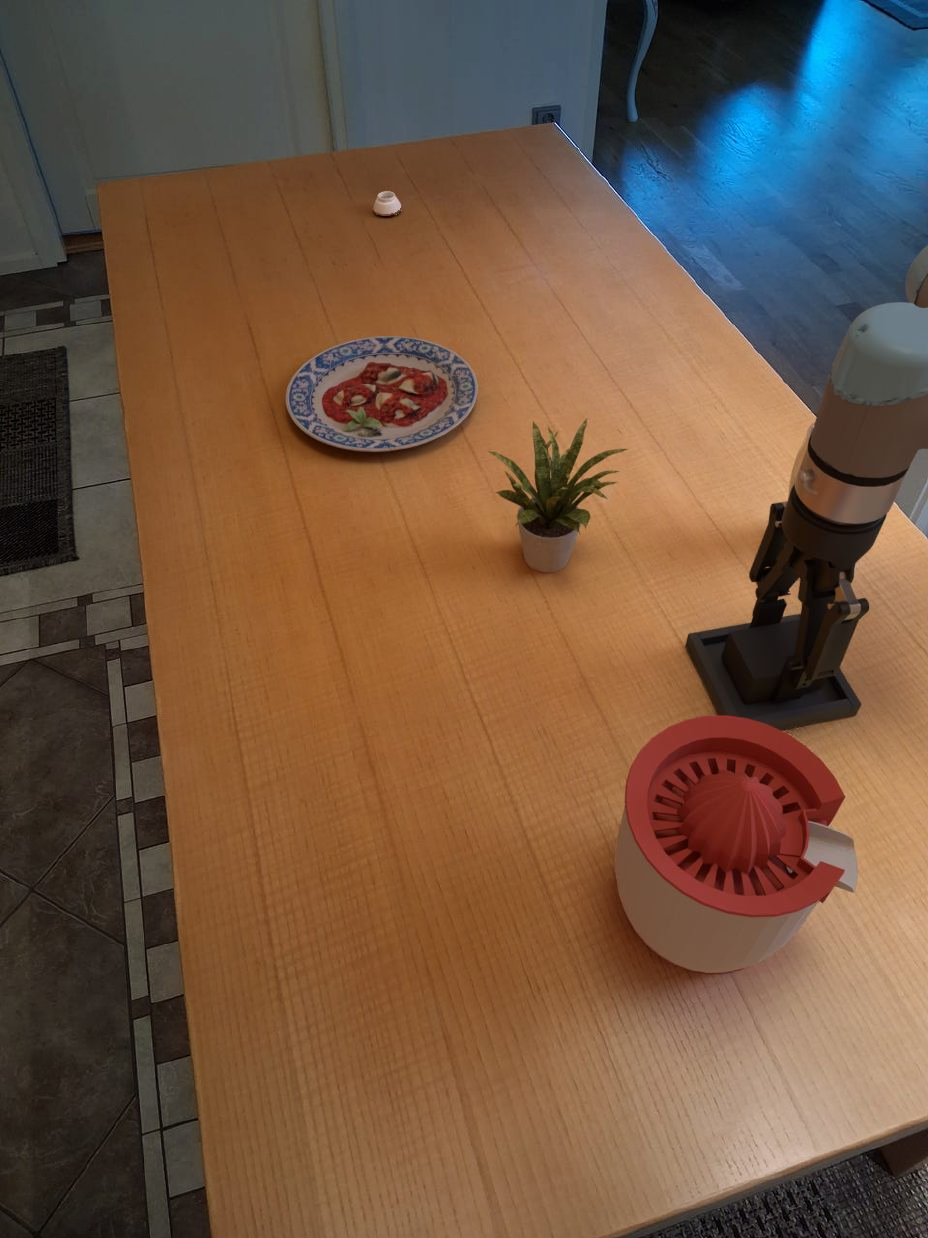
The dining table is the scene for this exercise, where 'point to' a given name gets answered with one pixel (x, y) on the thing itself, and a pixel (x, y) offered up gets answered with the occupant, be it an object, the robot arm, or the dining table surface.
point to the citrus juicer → (727, 842)
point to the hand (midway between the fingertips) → (770, 670)
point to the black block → (761, 658)
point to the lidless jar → (386, 203)
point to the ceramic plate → (381, 393)
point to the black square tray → (807, 710)
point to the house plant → (553, 500)
